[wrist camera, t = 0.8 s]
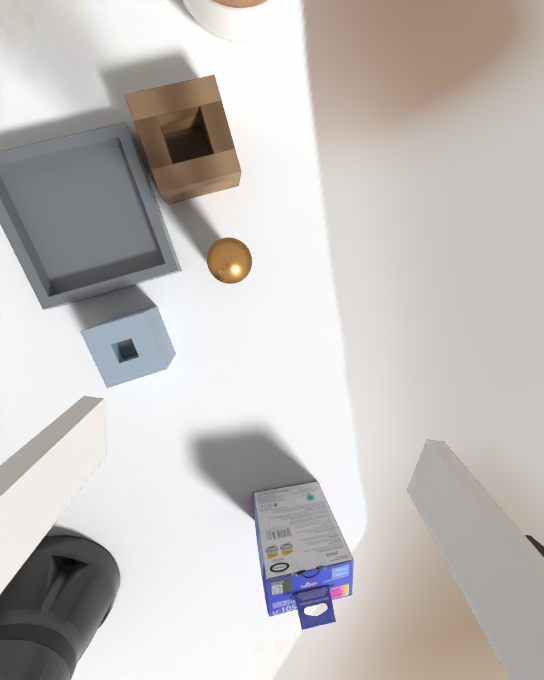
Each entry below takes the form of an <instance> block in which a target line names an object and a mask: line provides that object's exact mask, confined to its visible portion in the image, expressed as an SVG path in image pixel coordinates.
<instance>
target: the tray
mask: <svg viewBox="0 0 544 680" xmlns="http://www.w3.org/2000/svg"><path fill="white" fill-rule="evenodd" d="M0 224H1V226H2V228H3V230H4V232H5V234H6V236H7V238H8V240H9V242H10V244H11V246H12V248H13V250H14V252H15V254H16V256H17V258H18V260H19V262H20V264H21V266H22V268H23V270H24V272H25V274H26V276H27V278H28V280H29V282H30V284H31V286H32V288H33V290H34V292H35V294H36V296H37V298H38V300H39V302H40V304H41V306H42V308H43V309H48V308H54V307H58V306H62V305H65V304H69V303H72V302H76V301H79V300H82V299H86V298H89V297H93V296H96V295H100V294H103V293H107V292H110V291H114V290H117V289H121V288H124V287H128V286H131V285H134V284H138V283H141V282H145V281H148V280H152V279H155V278H159V277H162V276H166V275H169V274H173V273H176V272H179V271H182V270H181V267H180V265H179V262H178V259H177V256H176V253H175V251H174V248H173V245H172V242H171V239H170V237H169V234H168V231H167V228H166V225H165V223H164V220H163V217H162V214H161V211H160V209H159V206H158V203H157V200H156V197H155V195H154V192H153V189H152V186H151V183H150V181H149V178H148V175H147V172H146V169H145V167H144V164H143V161H142V158H141V155H140V153H139V150H138V147H137V144H136V141H135V139H134V136H133V134H132V132H131V131H130V129H129V127H128V126H127V124H126V123H120V124H116V125H112V126H108V127H103V128H99V129H95V130H90V131H86V132H82V133H77V134H73V135H69V136H65V137H60V138H56V139H52V140H47V141H43V142H39V143H35V144H30V145H26V146H22V147H17V148H13V149H9V150H4V151H0Z"/></svg>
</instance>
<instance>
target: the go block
mask: <svg viewBox="0 0 544 680" xmlns="http://www.w3.org/2000/svg"><path fill="white" fill-rule="evenodd" d="M125 97H126V100H127V103H128V106H129V108H130V111H131V114H132V117H133V120H134V123H135V125H136V128H137V131H138V134H139V137H140V140H141V142H142V145H143V148H144V151H145V154H146V157H147V159H148V162H149V165H150V168H151V171H152V174H153V176H154V179H155V182H156V185H157V188H158V191H159V193H160V194H161V196H162V197H163V198H164V200H165V201H166V202H167V204H171V203H175V202H179V201H183V200H186V199H190V198H194V197H198V196H202V195H205V194H209V193H213V192H217V191H221V190H224V189H228V188H232V187H236V186H239V181H240V176H241V169H240V165H239V161H238V158H237V154H236V151H235V147H234V144H233V140H232V136H231V133H230V129H229V126H228V122H227V118H226V115H225V111H224V108H223V104H222V101H221V97H220V93H219V90H218V86H217V83H216V79H215V76H214V75H211V76H207V77H202V78H198V79H193V80H189V81H184V82H180V83H175V84H171V85H166V86H162V87H157V88H153V89H148V90H144V91H139V92H135V93H130V94H126V95H125Z"/></svg>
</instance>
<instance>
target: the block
mask: <svg viewBox="0 0 544 680" xmlns="http://www.w3.org/2000/svg"><path fill="white" fill-rule="evenodd" d="M80 332H81V334H82V336H83V338H84V340H85V342H86V344H87V347H88V349H89V351H90V353H91V355H92V357H93V359H94V361H95V363H96V366H97V368H98V370H99V372H100V374H101V376H102V378H103V380H104V382H105V385H106V387H107V388H109V387H112V386H115V385H118V384H121V383H124V382H128V381H131V380H134V379H137V378H140V377H143V376H146V375H149V374H152V373H156V372H159V371H162V370H165V369H167V367H168V366H169V364H170V362H171V361H172V359H173V357H174V356H175V354H176V353H175V351H174V348H173V346H172V343H171V340H170V338H169V335H168V333H167V330H166V328H165V325H164V323H163V320H162V317H161V315H160V312H159V310H158V307H157V306H156V307H153V308H150V309H146V310H143V311H140V312H136V313H133V314H130V315H126V316H123V317H119V318H116V319H113V320H109V321H106V322H103V323H101V324H98V325H96V326H93V327H91V328H88V329H85V330H83V331H80Z"/></svg>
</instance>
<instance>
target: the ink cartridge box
mask: <svg viewBox="0 0 544 680" xmlns="http://www.w3.org/2000/svg"><path fill="white" fill-rule="evenodd" d="M254 520H255V527H256V536H257V544H258V552H259V559H260V567H261V574H262V580H263V586H264V593H265V599H266V605H267V611H268V614H269V616H274V615H277V614H281V613H285V612H289V611H292V610H296V609H298V614H299V618H300V622H301V628H302V630H303V629H307V628H311V627H315V626H319V625H324V624H328V623H333V622H336V620H335V616H334V610H333V604H332V600H334V599H338V598H342V597H346V596H350V595H352V584H353V561H354V560H353V557H352V555H351V553H350V551H349V549H348V546H347V544H346V542H345V540H344V538H343V535H342V533H341V531H340V529H339V527H338V525H337V522H336V520H335V518H334V516H333V514H332V511H331V509H330V507H329V505H328V503H327V500H326V498H325V496H324V494H323V492H322V489H321V487H320V485H319V482H311V483H306V484H300V485H295V486H289V487H283V488H277V489H272V490H266V491H261V492H255V493H254ZM320 603H325V604H327V606H328V609H327V611H325V612H323V613H322V614H321V615H319V616H310V615H306V614H305V613H304V608H306V607H308V606H313V605H318V604H320Z"/></svg>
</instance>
